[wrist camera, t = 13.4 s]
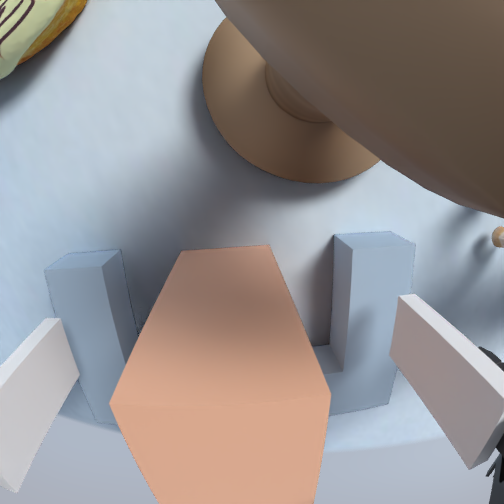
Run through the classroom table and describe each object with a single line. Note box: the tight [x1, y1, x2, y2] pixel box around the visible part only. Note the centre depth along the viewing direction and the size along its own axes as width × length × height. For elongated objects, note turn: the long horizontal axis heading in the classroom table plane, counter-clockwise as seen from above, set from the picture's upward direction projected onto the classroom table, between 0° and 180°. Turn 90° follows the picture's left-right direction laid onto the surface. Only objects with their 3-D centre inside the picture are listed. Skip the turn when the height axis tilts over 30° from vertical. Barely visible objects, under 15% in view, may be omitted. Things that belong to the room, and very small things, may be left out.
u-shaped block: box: [44, 231, 416, 425], centre depth 15 cm, size 16×9×2 cm, turn 93°
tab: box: [109, 245, 331, 504], centre depth 11 cm, size 4×5×10 cm
